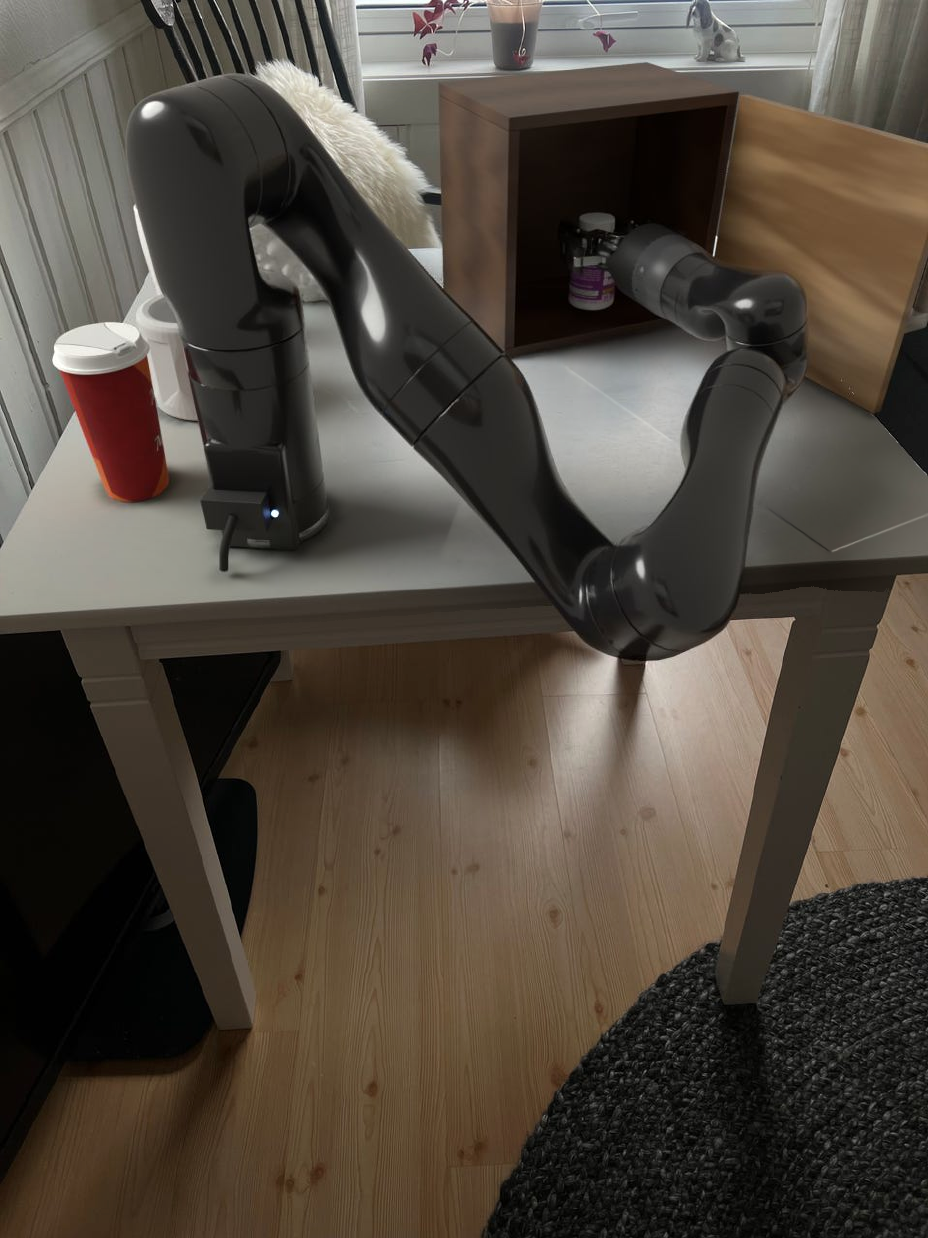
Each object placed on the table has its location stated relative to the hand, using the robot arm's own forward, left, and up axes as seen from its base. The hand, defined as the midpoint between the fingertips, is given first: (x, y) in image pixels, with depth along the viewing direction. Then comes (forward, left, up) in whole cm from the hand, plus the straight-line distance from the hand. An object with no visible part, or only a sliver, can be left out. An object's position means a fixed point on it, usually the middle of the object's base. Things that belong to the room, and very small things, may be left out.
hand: (585, 225), depth 107 cm
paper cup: (-42, +39, -11) cm, 59 cm away
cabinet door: (-9, -25, -11) cm, 29 cm away
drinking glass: (-10, +45, -11) cm, 48 cm away
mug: (-24, +39, -11) cm, 47 cm away
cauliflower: (+6, +37, -11) cm, 39 cm away
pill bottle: (-2, -1, -8) cm, 9 cm away
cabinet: (+2, +1, -11) cm, 11 cm away
